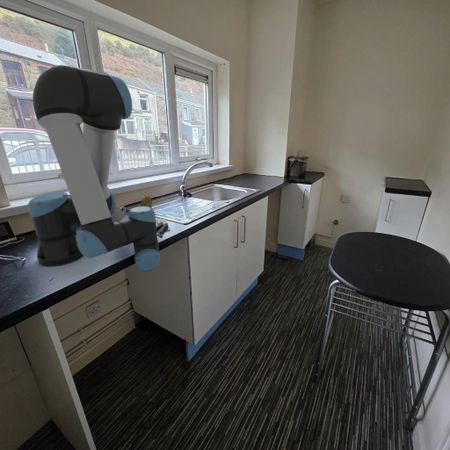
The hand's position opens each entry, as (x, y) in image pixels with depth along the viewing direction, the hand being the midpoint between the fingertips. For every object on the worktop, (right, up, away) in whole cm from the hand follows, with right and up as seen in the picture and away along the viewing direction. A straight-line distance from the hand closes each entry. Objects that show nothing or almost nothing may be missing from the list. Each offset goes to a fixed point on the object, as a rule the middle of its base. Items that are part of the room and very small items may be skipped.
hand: (141, 223), depth 105 cm
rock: (-10, +5, +33) cm, 34 cm away
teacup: (-20, 0, +18) cm, 27 cm away
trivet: (+1, -2, +13) cm, 14 cm away
